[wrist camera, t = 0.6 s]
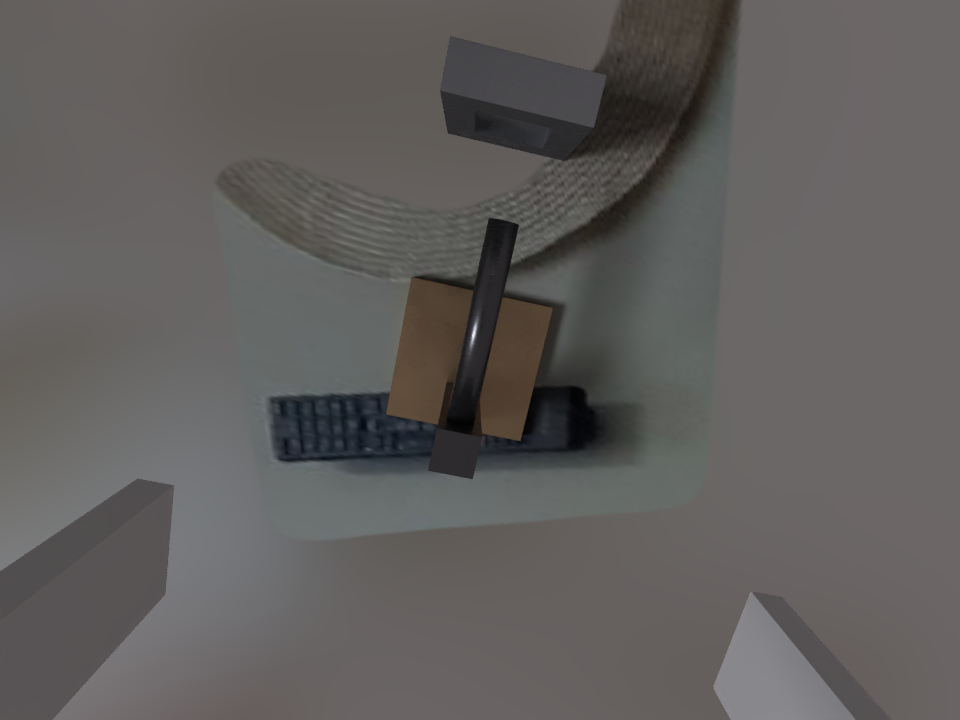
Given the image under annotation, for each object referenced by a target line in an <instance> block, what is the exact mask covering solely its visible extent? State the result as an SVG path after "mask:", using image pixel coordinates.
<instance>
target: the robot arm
mask: <svg viewBox="0 0 960 720" xmlns="http://www.w3.org/2000/svg"><path fill="white" fill-rule="evenodd" d="M173 490H174V485H168V484H163V483H158V482H152V481H147V480H142V479H137V480H135V481H134V482H132V483H130V484H129V485H127V486H126V487H125V488H123V489H122V490H120V491H119V492H117V493H116V494H114V495H113V496H111V497H110V498H108V499H107V500H105V501H104V502H102V503H101V504H99V505H98V506H96V507H95V508H93V509H92V510H91V511H89V512H87V513H86V514H85V515H83V516H82V517H80V518H79V519H77V520H76V521H74V522H73V523H71V524H70V525H68V526H67V527H65V528H64V529H62V530H61V531H59V532H58V533H57V534H55V535H53V536H52V537H50V538H49V539H47V540H46V541H44V542H43V543H42V544H40V545H39V546H37V547H36V548H34V549H33V550H31V551H30V552H28V553H27V554H25V555H24V556H22V557H21V558H19V559H18V560H16V561H15V562H13V563H12V564H10V565H9V566H7V567H6V568H4V569H3V570H1V571H0V720H52V719H53V718H54V717H55V716H56V715H57V714H58V713H59V712H60V711H61V709H62V708H63V707H64V706H65V705H66V704H67V703H68V702H69V700H70V699H71V698H72V697H73V696H74V695H75V694H76V693H77V692H78V691H79V689H80V688H81V687H82V686H83V685H84V684H85V683H86V682H87V681H88V679H89V678H90V677H91V676H92V675H93V674H94V672H96V671H97V669H98V668H99V667H100V666H101V665H102V664H103V663H104V662H105V661H106V659H107V658H108V657H109V656H110V655H111V654H112V653H113V652H114V651H115V649H116V648H117V647H118V646H119V645H120V644H121V643H122V642H123V641H124V639H125V638H126V637H127V636H128V635H129V634H130V633H131V632H132V631H133V630H134V628H135V627H136V626H137V625H138V624H139V623H140V622H141V621H142V620H143V618H144V617H145V616H146V615H147V614H148V613H149V612H150V611H151V610H152V608H153V607H154V606H155V605H156V604H157V603H158V602H159V601H160V600H161V598H162V597H163V596H164V595H165V590H166V578H167V566H168V554H169V540H170V529H171V515H172V504H173ZM713 688H714V690H715V692H716V694H717V695H718V697H719V699H720V701H721V703H722V705H723V706H724V708H725V710H726V712H727V714H728V715H729V717H730V719H731V720H891V719H890V717H889V716H888V715H887V714H886V713H885V712H884V711H883V710H882V708H880V706H879V705H878V704H877V703H876V702H875V701H874V700H873V698H872V697H871V696H870V695H869V694H868V693H867V692H866V691H865V690H864V688H863V687H862V686H861V685H860V684H859V683H858V682H857V681H856V679H855V678H854V677H853V676H852V675H851V674H850V673H849V672H848V671H847V670H846V668H845V667H844V666H843V665H842V664H841V663H840V662H839V660H838V659H837V658H836V657H835V656H834V655H833V654H832V653H831V651H830V650H829V649H828V648H827V647H826V646H825V645H824V644H823V642H822V641H821V640H820V639H819V638H818V637H817V636H816V635H815V634H814V633H813V631H812V630H811V629H810V628H809V627H808V626H807V625H806V624H805V622H804V621H803V620H802V619H801V618H800V617H799V616H798V615H797V613H796V612H795V611H794V610H793V609H792V608H791V607H790V606H789V604H788V603H787V602H786V601H785V600H784V599H783V598H782V597H778V596H773V595H767V594H762V593H756V592H750V595H749V598H748V600H747V603H746V605H745V608H744V610H743V613H742V616H741V618H740V621H739V623H738V626H737V628H736V631H735V633H734V636H733V638H732V641H731V643H730V646H729V648H728V651H727V653H726V656H725V659H724V661H723V664H722V666H721V669H720V671H719V674H718V676H717V679H716V682H715V684H714V687H713Z"/></svg>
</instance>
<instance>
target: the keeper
mask: <svg viewBox="0 0 960 720" xmlns="http://www.w3.org/2000/svg"><path fill="white" fill-rule="evenodd" d="M518 227H519V225H518V224H515V223H512V222H508V221H504V220H499V219H493V218H489V220H488V225H487V229H486V234H485V239H484V244H483V248H482V253H481V258H480V262H479V267H478V272H477V277H476V281H475V286H474V290H471V289H467V288H462V287H458V286H453V285H448V284H444V283H439V282H435V281H430V280H425V279H421V278H416V277H412V278H411V283H410V289H409V294H408V300H407V305H406V310H405V316H404V321H403V326H402V332H401V337H400V343H399V348H398V353H397V359H396V364H395V370H394V375H393V380H392V386H391V391H390V397H389V402H388V407H387V413H386V414H388V415H393V416H398V417H403V418H408V419H413V420H418V421H423V422H428V423H433V424H438V426H437V431H436V435H435V440H434V445H433V450H432V455H431V460H430V465H429V469H428V471H433V472H439V473H444V474H449V475H454V476H459V477H464V478H470V479H473V475H474V471H475V466H476V462H477V458H478V453H479V449H480V445H481V440H482V433H483V434H488V435H493V436H498V437H503V438H508V439H513V440H518V441H520V440H521V436H522V432H523V428H524V424H525V420H526V416H527V412H528V408H529V404H530V400H531V396H532V392H533V388H534V384H535V380H536V376H537V371H538V367H539V363H540V359H541V355H542V351H543V347H544V343H545V339H546V335H547V331H548V327H549V323H550V319H551V315H552V311H553V308H552V307H549V306H545V305H540V304H536V303H531V302H526V301H522V300H517V299H513V298H508V297H503V294H504V290H505V285H506V281H507V276H508V272H509V267H510V263H511V259H512V254H513V250H514V245H515V241H516V236H517V232H518Z"/></svg>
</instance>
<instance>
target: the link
mask: <svg viewBox="0 0 960 720" xmlns="http://www.w3.org/2000/svg"><path fill="white" fill-rule="evenodd" d="M606 77H607V75H604V74H600V73H596V72H592V71H588V70H584V69H580V68H575V67H571V66H568V65H563V64H560V63H555V62H552V61H547V60H544V59H540V58H536V57H532V56H527V55H524V54H520V53H516V52H512V51H508V50H503V49H499V48H496V47H492V46H488V45H484V44H480V43H476V42H472V41H468V40H464V39H460V38H456V37H451V36H450V40H449V45H448V51H447V56H446V62H445V67H444V72H443V78H442V83H441V89H440V92H441V98H442V103H443V109H444V114H445V120H446V126H447V131H448V134H453V135H457V136H461V137H465V138H470V139H474V140H478V141H482V142H487V143H491V144H495V145H499V146H503V147H507V148H512V149H516V150H520V151H524V152H529V153H533V154H537V155H541V156H545V157H550V158H554V159H558V160H562V161H564V160H565V159H566V158H567V157H568V156H569V155H570V154H571V153H572V151H573V150H574V149H575V148H576V147H577V146H578V145H579V144H580V143H581V142H582V140H583V139H584V138H585V137H586V136H587V135H588V134H589V133H590V132H591V131H592V129H593V128H594V126H595V121H596V117H597V113H598V109H599V105H600V101H601V97H602V93H603V89H604V85H605V81H606Z"/></svg>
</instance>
